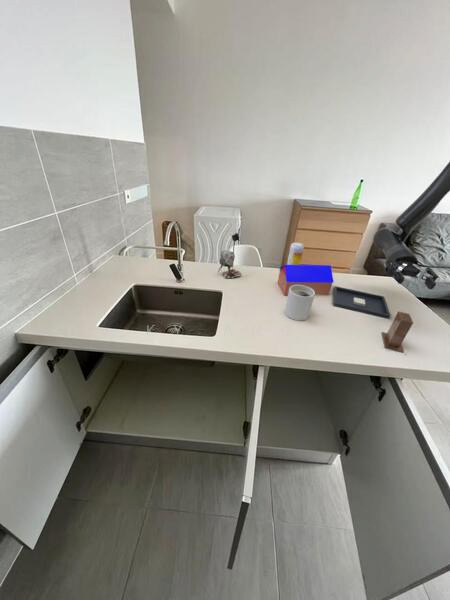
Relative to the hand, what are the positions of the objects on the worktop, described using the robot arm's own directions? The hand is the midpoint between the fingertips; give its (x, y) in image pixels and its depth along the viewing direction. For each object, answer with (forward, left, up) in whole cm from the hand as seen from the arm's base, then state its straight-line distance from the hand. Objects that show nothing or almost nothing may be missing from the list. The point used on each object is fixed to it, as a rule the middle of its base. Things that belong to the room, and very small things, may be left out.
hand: (417, 284), depth 73 cm
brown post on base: (+1, +7, -19) cm, 21 cm away
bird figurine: (+66, -17, -20) cm, 71 cm away
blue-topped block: (+32, -19, -20) cm, 42 cm away
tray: (+9, -17, -19) cm, 27 cm away
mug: (+31, +1, -20) cm, 37 cm away
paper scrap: (+9, -17, -19) cm, 27 cm away
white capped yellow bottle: (+39, -34, -20) cm, 55 cm away
